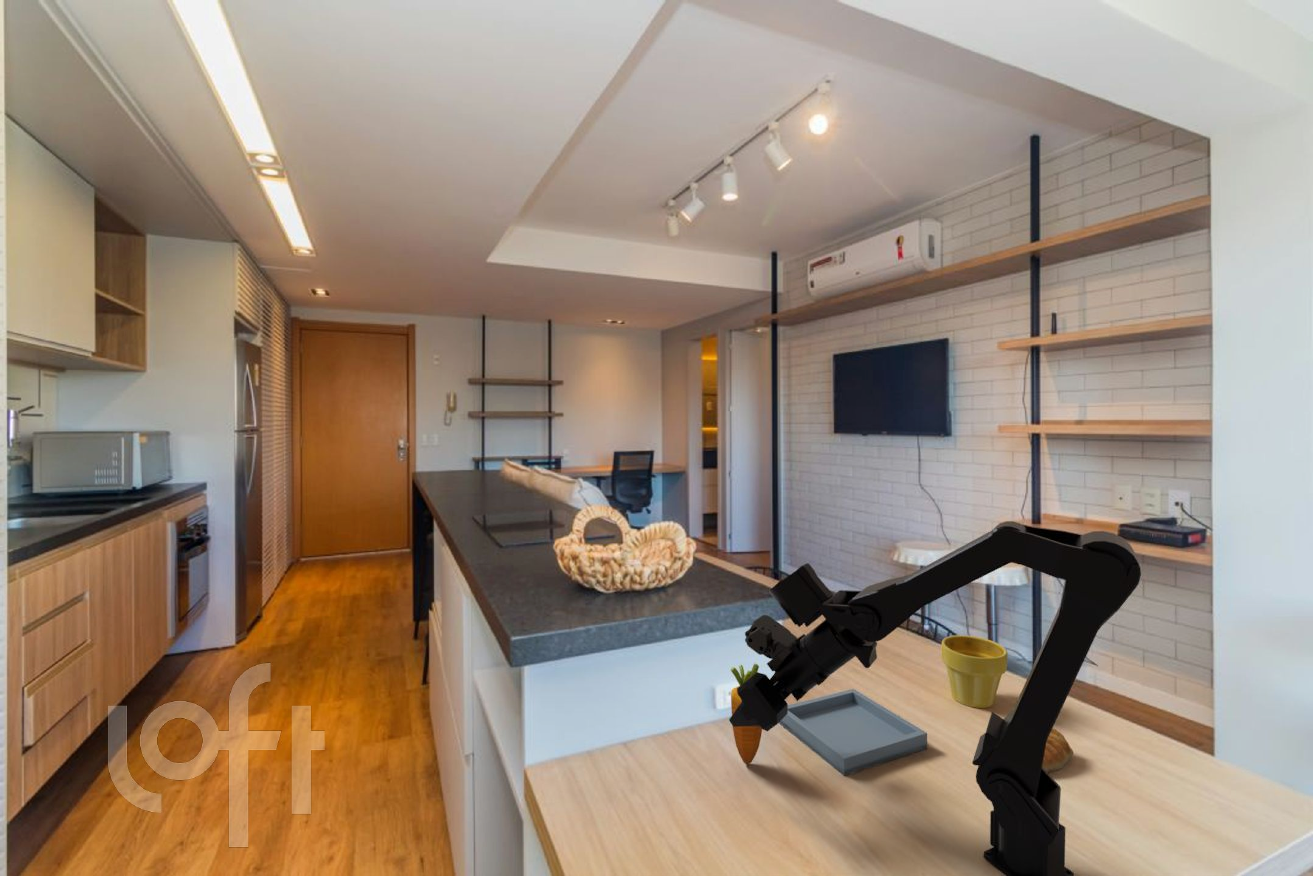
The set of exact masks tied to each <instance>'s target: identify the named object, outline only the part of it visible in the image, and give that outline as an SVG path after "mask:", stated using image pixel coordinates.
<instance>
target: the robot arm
mask: <svg viewBox="0 0 1313 876" xmlns="http://www.w3.org/2000/svg"><path fill="white" fill-rule="evenodd" d="M1137 557H1138V556H1137V555H1136V552H1135V550H1134V549H1133V546H1132V545H1131V543H1129V542H1128V541H1127V540H1126V539H1125V538H1123V537H1122V536H1120V535H1118V534H1116V533H1114V532H1109V531H1106V530H1105V531H1104V530H1101V531H1100V530H1099V531H1097V530H1096V531H1094V530H1093V531H1089V532H1087V533H1083V534H1081V533H1076V532H1071V531H1067V530H1062V529H1053V528H1046V527H1040V526H1039V527H1038V526H1031V525H1027V524H1021V523H1020V522H1017V521H1013V520H1011V521H1010V520H1009V521H1003V522H1000V523H998V524H997V525H995V527H994V528H993V529H991V530H990V531H988V532H987V533H984V534H982V535H981V536H979V537H976V538H975V539H973V540H972V541H970V542H968V543H966V544H964V545H962V546H960V547H958V548H956V549H955V550H953V551H951V552H949V553H948V554H946V555H944V556H942V557H940V558H938V559H936V560H934V561H933V562H931V563H929V564H927V565H924V566H923V567H921V568H920V569H918V570H915V571H913V572H912V573H910V574H906V575H904V576H899V577H895V578H890V579H886V580H883V581H880V582H877V583H874V584H871V585H868V586H866V587H865V588H864V589H862V590H843V589H842V590H841V589H840V590H837V592H835V593H834V594H833V592H832V591H831V590H830V589H829V588H828V587H827V586H826V584H825V583H824V581H822V579H821V578H820V577H819V575H818V574H817V572H816V571H815V569H814V568H813V567H812V566H811V564H810V563H808V562H806V563H805V564H803V565H801V566H800V567H799V568H797V569H796V570H795V571H793V572H792V573H791V574H789V575H788V576H786V577H785V578H783V579H781V580H779V581H778V582H777V583H776V584H775V585H773V586H772V587H771V589H770V590H769V591H768V592H769V595H771V596H772V598H773V599H774V600H775V601H776V602H777V604H778V606H780V608H781V609H782V610H783V611H784V613H786V615H787V617H788V618H789V619H790V620H791V621H792V623H793V624H794V625H795V626H798V627H799V628H800V627H802V626H803V625H804V626H805V627H806V628H808V627H809V626H810V625H812V624H813V623H814V622H816V621H817V620H818V619H819V618H821V617H822V616H823V618H824V619H825V620H823V621H822V622H820V623H819V624H818V625H817V626H816V627H814V628H813V629H812V630H810V631H809V632H807V633H806V634H805V633H802V635H800V636H799V637H797V636H796V635H794V634H793V633H792V632H791V631H790V629H788V628H787V627H786V626H784V625H782V624H781V623H779V622H778V621H777V620H776V619H774V618H773V617H771V616H769V615H767V614H762V615H761V616H760V617H758V618H757V619H755V620H754V621H753V622H752V624H751V626H750V628H749V629H747V630H746V631H745V632H744V636H745V639H744V641H745V644H746V646H747V647H748V648H749V649H751V650H752V651H753V652H755V653H757V654H758V655H763V656H764V657H766V658H768V659H770V660H769V661H768V662H766V665H767V667H769V669H770V670H771V672H774V673H773V675H772V676H770V678H769V676H767V674H765V673H761V672H758V671H757V673H755V674H754V675H753V676H752V677H750V678H749V679H748V680H747V681H746V682H744V683H743V684H742V685H741V686H740V685H738V686H739V687H738V686H737V687H738V688H737V694H738V695H739V697H740V698H741V700H742V702H741V703H740V705H739V706H738V708H737V709H736V710H735V712H734V713H733V715H732V714H731V716H730V718H729V720H728V721H729V722H730V724H731V725H733V726H734V727H743V726H758V727H761V728H762V731H765V732H769V731H770V730H772V729H773V728H774V727H776V726H777V725H779V722H780V721H781V720H782V719H783V718H784V717H785V716H786V715H787V714H788V705H789V704H788V703H787V701H786V700H787V698H788V697H790V696H791V695H792V696H793V697H794V699H795V700H796V701H797V702H798V701H800V700H801V699H803V697H804V696H805V695H806V694H807V693H809V691H811V690H812V689H813V688H814V687H816V686H820V685H821V684H822V683H824V682H825V681H826V680H827V679H828V678H829V677H830V676H831V675H832V674H833V673H835V672H836V671H838V670H839V669H840V668H841V667H843V666H845V665H846V664H847V663H848V662H850V661H852V659H854V658H855V657H856V658H857V660H859V662H860V663H861V665H863V667H864V668H865V669H869V668H870V667H872V665H873V663H874V662H875V661H876V660H877V659H878V654H877V645H878V642H879V641H882V640H883V639H885V638H886V637H888V636H889V635H890V634H891V633H892V632H894V631H895V630H896V629H898V628H899V627H900V626H901V625H902V624H904V623H905V622H906V621H907V620H908V619H909V618H911V617H912V616H913V615H915V614H916V612H918V611H919V610H920V609H922V608H924V607H925V606H927V605H930V603H932V602H935V601H937V600H939V599H941V598H942V597H945V596H946V595H948V594H951V593H953V592H955V591H957V590H959V589H961V588H963V587H965V586H967V585H969V584H971V583H972V582H974V581H977V580H979V579H981V578H982V577H984V576H986V575H989V574H990V573H992V572H995V571H997V570H998V569H1001V568H1002V567H1005V566H1006V565H1008V564H1016V565H1020V566H1023V567H1025V568H1029V569H1031V570H1034V571H1037V572H1039V573H1043V574H1045V575H1048V576H1051V577H1052V578H1056V579H1060V580H1064V581H1063V583H1064V584H1063V588H1062V593H1061V597H1060V598H1061V599H1060V603H1059V607H1058V608H1057V611H1056V613H1055V616H1054V618H1053V620H1052V622H1051V624H1050V627H1049V628H1048V632H1047V633H1046V636H1045V638H1044V640H1043V642H1042V645H1041V647H1040V649H1039V651H1038V654H1037V656H1036V658H1035V660H1034V663H1033V665H1032V667H1031V669H1030V672H1029V674H1028V675H1027V676H1028V677H1027V678H1026V680H1025V683H1024V685H1023V688H1022V690H1021V691H1020V694H1019V696H1018V698H1017V701H1016V704H1014V708H1013V709H1012V710H1011V711H1010V712H1009V713H1008V714H1007V715H1006V716H1005V717H1004V718H1002V717H1001V716H1000V715H998V714H996V713H995V712H994V711H991V713H990V717H989V720H988V722H987V723H988V724H987V727H986V730H985V732H984V733H983V734H982V735H980V736H979V740H978V743H977V746H976V749H975V752H974V755H973V759H972V762H971V763H972V765H973V766H977V770H976V774H975V781H976V784H977V785H978V787H979V789H980V791H981V792H982V794H983V795H984V797H985V798H986V799H987V800H989V802H991V805H992V808H993V810H991V811H990V813H989V815H990V818H989V819H990V822H989V829H990V830H989V845H990V846H992V847H991V848H989V849H986V850H985V851H983V858H984V859H985V860H986V861H987V862H989V863H990V864H991V865H993V866H994V867H995V868H997V869H998V870H999V871H1001V872H1002V873H1003V874H1005V875H1006V876H1075V873H1074V872H1073V871H1072V870H1071V869H1069V868H1068V867H1066V866H1065V865H1066V826H1064V825H1063V824H1061V823H1060V812H1061V811H1060V809H1061V794H1062V788H1061V786H1060V784H1058V782H1057V781H1056V780H1055V779H1054V778H1053V777H1052V776H1051V775H1050V774H1049V772H1046V771H1045V769H1044V768H1043V767H1042V764H1043V758H1044V753H1045V747H1046V742H1047V739H1048V737H1049V734H1050V732H1051V730H1052V728H1053V729H1054V726H1055V723H1056V722H1057V719H1058V717H1059V715H1060V713H1061V710H1062V709H1063V706H1064V704H1065V703H1066V700H1067V698H1068V696H1069V693H1070V691H1071V690H1072V687H1073V685H1074V683H1075V681H1076V679H1077V677H1078V674H1079V672H1080V671H1081V668H1082V667H1083V664H1084V661H1085V659H1086V657H1087V655H1088V654H1089V652H1090V650H1091V649H1090V648H1091V646H1092V645H1093V643H1094V640H1095V638H1096V636H1097V633H1098V631H1099V630H1100V629H1101V627H1102V626H1104V625H1105V624H1106V623H1107V622H1108V621H1109V620H1110V619H1111V618H1112V617H1113V616H1114V615H1115V614H1116V613H1117V612H1118V611H1119V610H1120V609H1121V607H1123V605H1124V603H1126V602H1127V600H1128V598H1130V596H1131V595H1132V594H1133V592H1134V591H1135V590H1136V588H1137V587H1138V585H1139V584H1140V579H1141V576H1142V571H1141V566H1140V563H1139V560H1138V558H1137ZM733 726H732V727H733Z"/></svg>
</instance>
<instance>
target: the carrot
mask: <svg viewBox="0 0 1313 876" xmlns="http://www.w3.org/2000/svg"><path fill="white" fill-rule="evenodd" d="M759 668H760V666H759V665H758V664H757V663H754V664H753V666H752V668H751V670H747V672H746V673H745V670H744V666H743V664H740V665H739V666H738V669H739V671H738V670H737V668H736V667H734V666H732V667H730V671H731V673H732V674H733V676H734V677H735V680H736V682H737V683H738V686H736V687H734V688H732V689H731V691H730V705H731V708H730V709H731V716H732V715H733V713H734V712H735V710H736V709H737V708H738V706H739V705H740V703H741V702H742V700H741V698H740V697H739V695H738V694H737V688H738V687H739V686H741V685H742V684H743V683H744V682H746V681H747V680H748V679H749V678H750V677H752V676H753V675H754V674H755V673H757V672H758V670H759ZM731 725H732V724H731ZM732 731H733V732H732V733H733V737H734V742H735V747H736V749H737V751H738V755H739V756H740V758H741V760H742V762H743V763H744V764H745V765H746V766H749V765H750V764H751V763H752V762H753V761H754V759H755V757H756V755H757V753H758V750H759V747H760V743H761V737H762V732H763V729H762V728H761V727H758V726H743V727H734V726H733V725H732Z"/></svg>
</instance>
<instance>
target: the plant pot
mask: <svg viewBox="0 0 1313 876" xmlns="http://www.w3.org/2000/svg"><path fill="white" fill-rule="evenodd" d="M940 646H941V648H940V650H941V651H940V653H941V655H940V656H941V660H942V663H943V664H945V667H946V672H947V678H948V683H949V688H950V692H951V697H952V698H953V700H955V701H956V702H957V703H959V704H962V705H963V706H967V707H971V708H976V709H987V708H990V707H992V706H994V703H995V699H996V695H997V692H998V688H999V685H1000V682H1001V678H1002V676H1003V675H1004V674H1005V673H1006V672H1007V667H1008V651H1007V649H1006V648H1005V647H1004V646H1003V645H1001V644H1000V643H998V642H996V641H993V640H990V639H987V638H984V637H979V636H974V635H963V634H962V635H960V634H958V635H949V636H946V637H944V638H943V639H942V640H941V645H940Z"/></svg>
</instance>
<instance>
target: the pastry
mask: <svg viewBox="0 0 1313 876" xmlns="http://www.w3.org/2000/svg"><path fill="white" fill-rule="evenodd" d="M1073 750H1074V749H1072V748H1071V746H1070V744H1069V742H1068V741H1067V740H1066V738H1065V736H1064V735H1063V733H1061V731H1059V730H1057V729H1055V728H1054V727H1053V728H1052V730H1051V732H1050V734H1049V737H1048V739H1047V742H1046V747H1045V753H1044V758H1043V764H1042V767H1043V768H1044V769H1045V771H1046V772H1047V773H1049V772H1053V771H1054V772H1055V771H1060V770H1061V769H1062V768H1063V767H1064V766H1066V765H1067V764H1068V763H1069V762H1070V760H1071V758H1072V757H1073V755H1074V751H1073Z"/></svg>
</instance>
